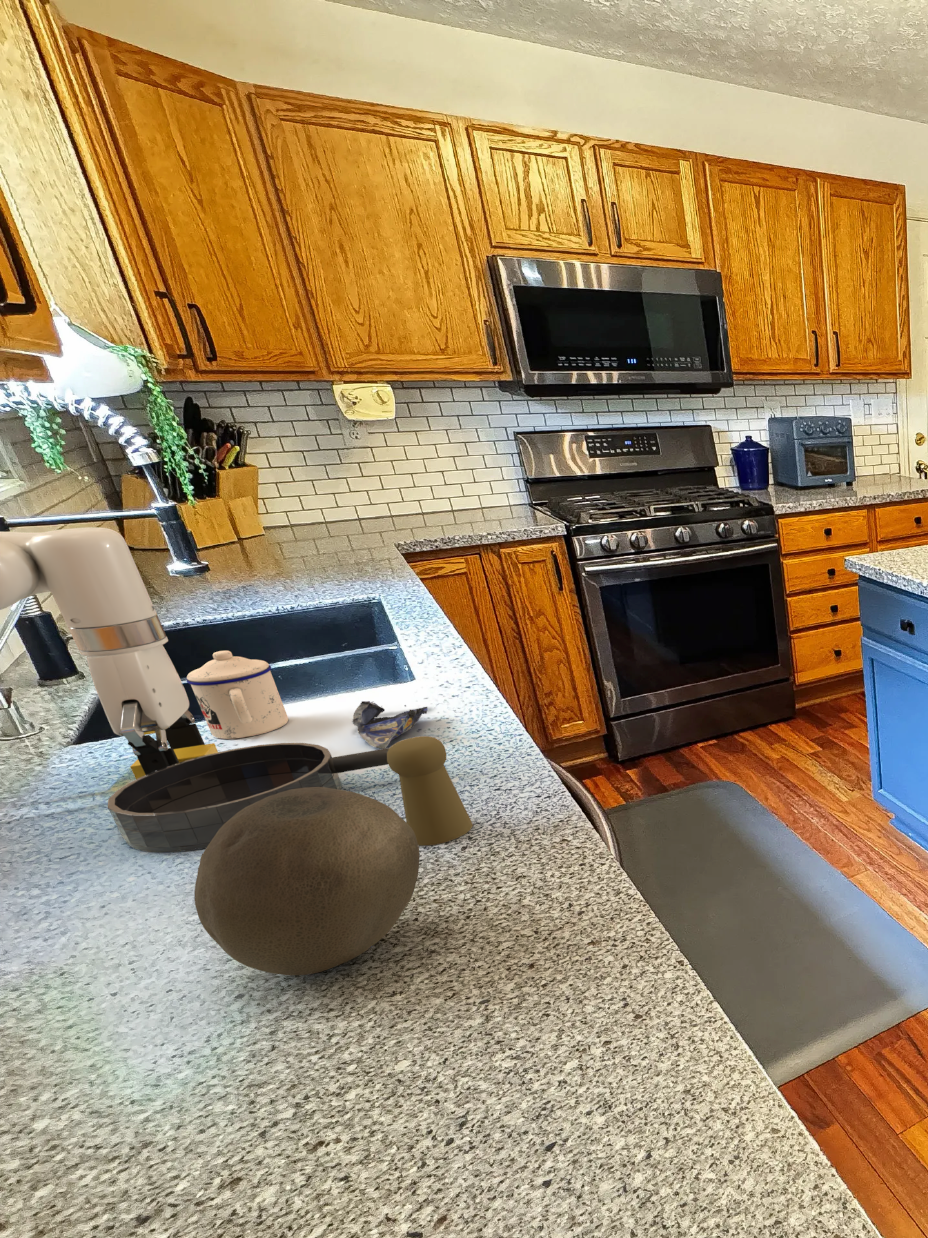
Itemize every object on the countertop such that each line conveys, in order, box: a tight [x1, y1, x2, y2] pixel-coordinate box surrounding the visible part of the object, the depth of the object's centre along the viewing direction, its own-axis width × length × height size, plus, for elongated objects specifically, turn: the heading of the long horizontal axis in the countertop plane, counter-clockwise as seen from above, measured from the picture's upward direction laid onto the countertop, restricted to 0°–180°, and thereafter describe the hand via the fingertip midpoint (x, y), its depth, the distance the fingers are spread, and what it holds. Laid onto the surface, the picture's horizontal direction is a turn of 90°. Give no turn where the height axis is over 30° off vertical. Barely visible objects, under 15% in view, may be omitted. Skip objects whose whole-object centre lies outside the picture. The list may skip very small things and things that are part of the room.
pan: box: [107, 742, 343, 853], centre depth 93 cm, size 19×19×4 cm
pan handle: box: [329, 747, 390, 774], centre depth 99 cm, size 12×2×2 cm, turn 119°
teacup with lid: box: [186, 650, 289, 740], centre depth 115 cm, size 12×9×12 cm
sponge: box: [129, 742, 219, 780], centre depth 102 cm, size 7×4×3 cm, turn 119°
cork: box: [387, 735, 474, 847], centre depth 87 cm, size 6×6×11 cm
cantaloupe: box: [193, 787, 420, 976], centre depth 67 cm, size 14×14×15 cm
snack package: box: [351, 700, 428, 749], centre depth 115 cm, size 12×6×12 cm
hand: (180, 766), depth 103 cm, fingers open, 8 cm apart
